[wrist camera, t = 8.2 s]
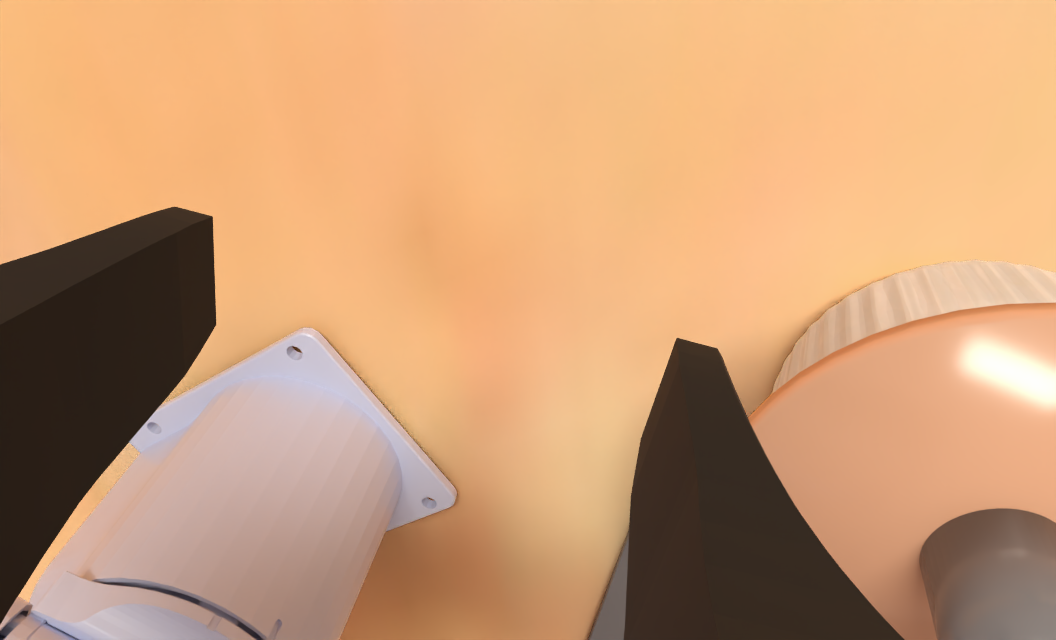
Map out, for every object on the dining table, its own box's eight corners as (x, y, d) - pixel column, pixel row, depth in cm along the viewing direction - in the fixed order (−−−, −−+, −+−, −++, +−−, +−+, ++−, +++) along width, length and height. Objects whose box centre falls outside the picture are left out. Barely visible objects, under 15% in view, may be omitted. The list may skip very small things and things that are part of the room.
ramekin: (857, 155, 21) (892, 260, 17) (1285, 307, 21) (1428, 450, 17) (683, 465, 28) (675, 598, 23) (1013, 580, 28) (1067, 735, 23)
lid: (840, 745, 26) (860, 919, 22) (604, 440, 21) (578, 594, 17) (1392, 644, 20) (1549, 856, 16) (1239, 189, 15) (1412, 337, 11)
